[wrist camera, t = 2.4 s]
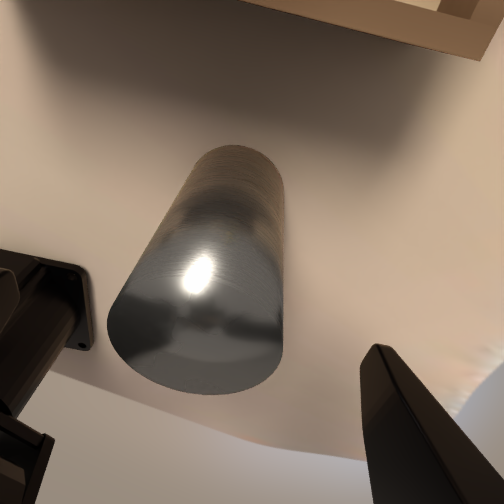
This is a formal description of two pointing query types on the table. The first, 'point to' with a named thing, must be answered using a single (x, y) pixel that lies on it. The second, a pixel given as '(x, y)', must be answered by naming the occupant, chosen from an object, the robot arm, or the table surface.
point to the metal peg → (209, 281)
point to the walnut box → (408, 20)
